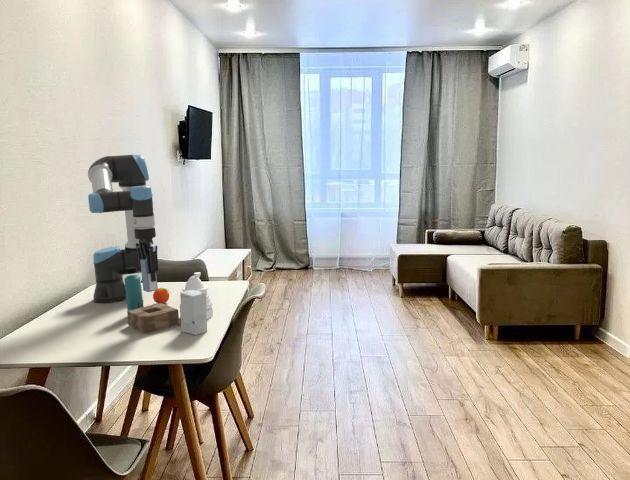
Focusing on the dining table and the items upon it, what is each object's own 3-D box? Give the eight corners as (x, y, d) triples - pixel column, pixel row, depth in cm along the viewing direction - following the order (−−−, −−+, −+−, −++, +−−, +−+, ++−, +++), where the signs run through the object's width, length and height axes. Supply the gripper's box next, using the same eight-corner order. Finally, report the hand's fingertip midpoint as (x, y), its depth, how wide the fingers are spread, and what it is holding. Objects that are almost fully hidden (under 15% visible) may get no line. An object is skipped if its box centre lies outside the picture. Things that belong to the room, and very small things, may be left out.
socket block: (128, 325, 217) (127, 310, 216) (162, 317, 226) (160, 302, 225) (144, 333, 206) (143, 318, 205) (179, 324, 216) (177, 309, 215)
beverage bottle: (139, 318, 226) (134, 269, 223) (124, 317, 228) (119, 269, 224) (147, 313, 233) (142, 265, 229) (132, 313, 234) (128, 265, 231)
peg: (143, 290, 214) (140, 259, 212) (153, 288, 216) (150, 257, 214) (147, 292, 211) (144, 260, 209) (157, 290, 213) (154, 258, 212)
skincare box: (181, 331, 207) (178, 292, 205) (194, 327, 212) (191, 288, 209) (195, 335, 202) (192, 295, 199) (209, 331, 206) (206, 291, 204)
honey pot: (219, 313, 228) (216, 270, 225) (200, 323, 217) (196, 277, 214) (193, 310, 233) (190, 268, 230) (173, 320, 222) (169, 275, 219)
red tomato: (174, 301, 249) (173, 285, 248) (169, 305, 243) (167, 289, 241) (157, 301, 250) (155, 286, 249) (151, 306, 243) (149, 290, 242)
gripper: (125, 227, 214) (131, 287, 217) (145, 230, 201) (151, 294, 205) (143, 224, 219) (149, 283, 222) (164, 227, 206) (170, 290, 210)
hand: (150, 288), depth 214 cm, fingers closed on peg, 4 cm apart
